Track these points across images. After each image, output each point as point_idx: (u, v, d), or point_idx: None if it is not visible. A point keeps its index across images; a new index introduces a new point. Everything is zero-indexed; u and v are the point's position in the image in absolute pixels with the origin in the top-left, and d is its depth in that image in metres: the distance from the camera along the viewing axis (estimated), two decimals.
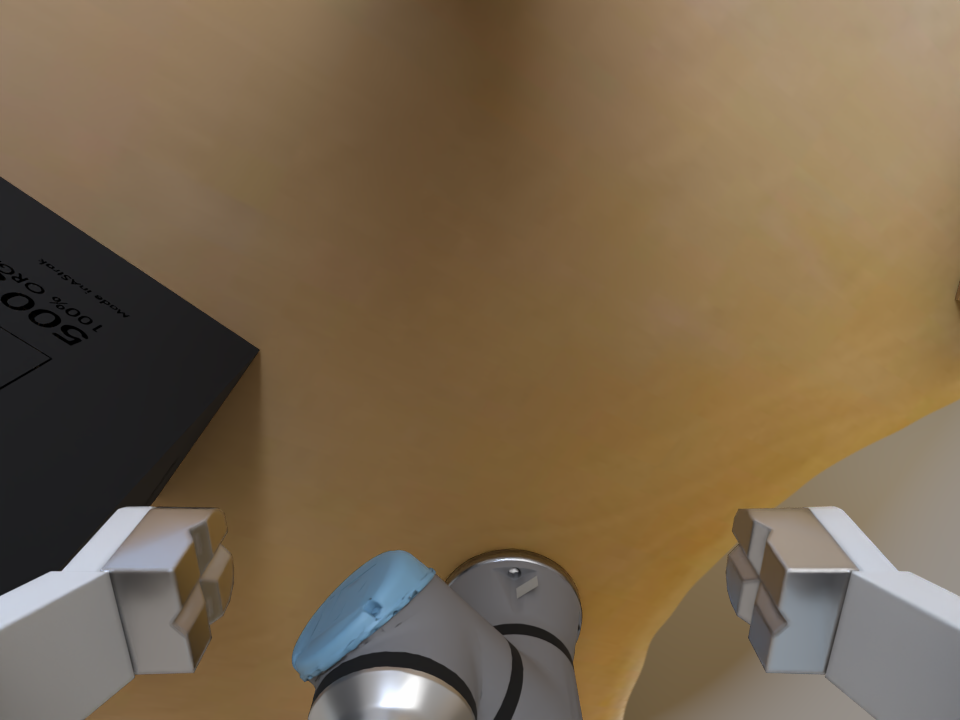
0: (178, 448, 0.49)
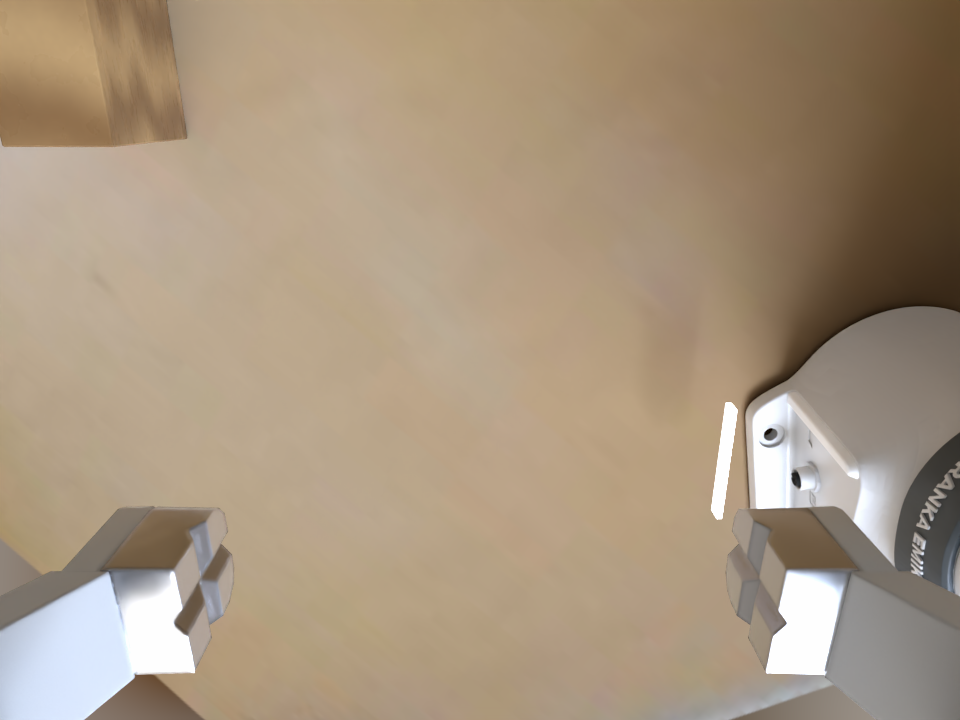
0: None
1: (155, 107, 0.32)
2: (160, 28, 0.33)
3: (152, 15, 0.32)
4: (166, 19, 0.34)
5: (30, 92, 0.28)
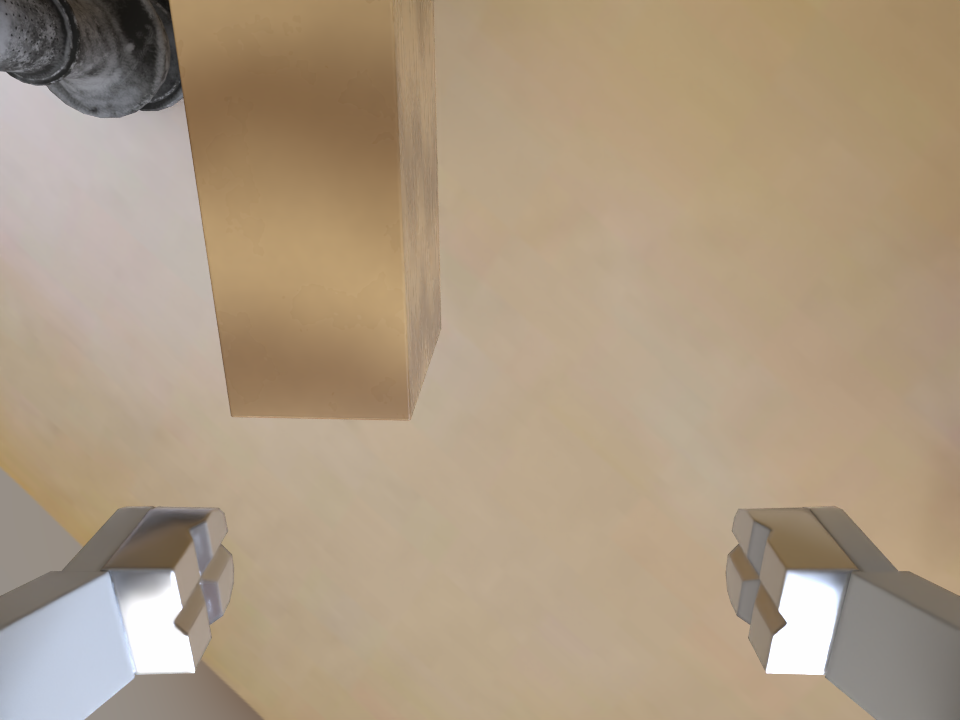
0: None
1: (429, 313, 0.21)
2: (433, 188, 0.22)
3: (431, 174, 0.21)
4: (436, 170, 0.22)
5: (286, 341, 0.17)
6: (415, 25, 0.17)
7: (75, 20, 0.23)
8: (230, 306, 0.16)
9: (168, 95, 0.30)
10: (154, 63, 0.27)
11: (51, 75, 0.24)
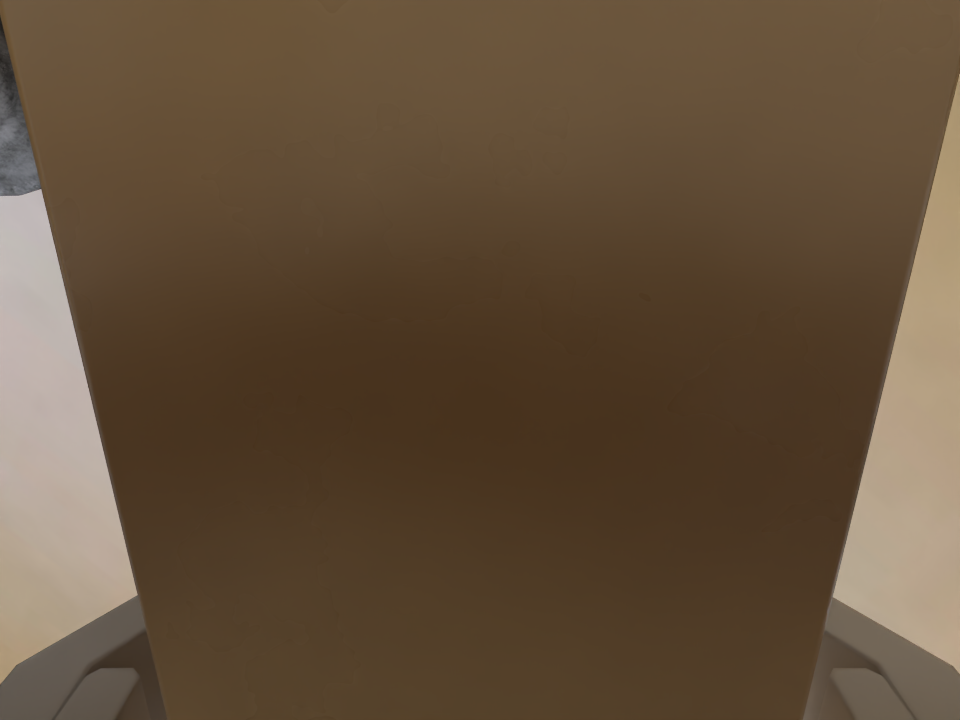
0: None
1: None
2: None
3: None
4: None
5: None
6: None
7: None
8: None
9: None
10: None
11: None
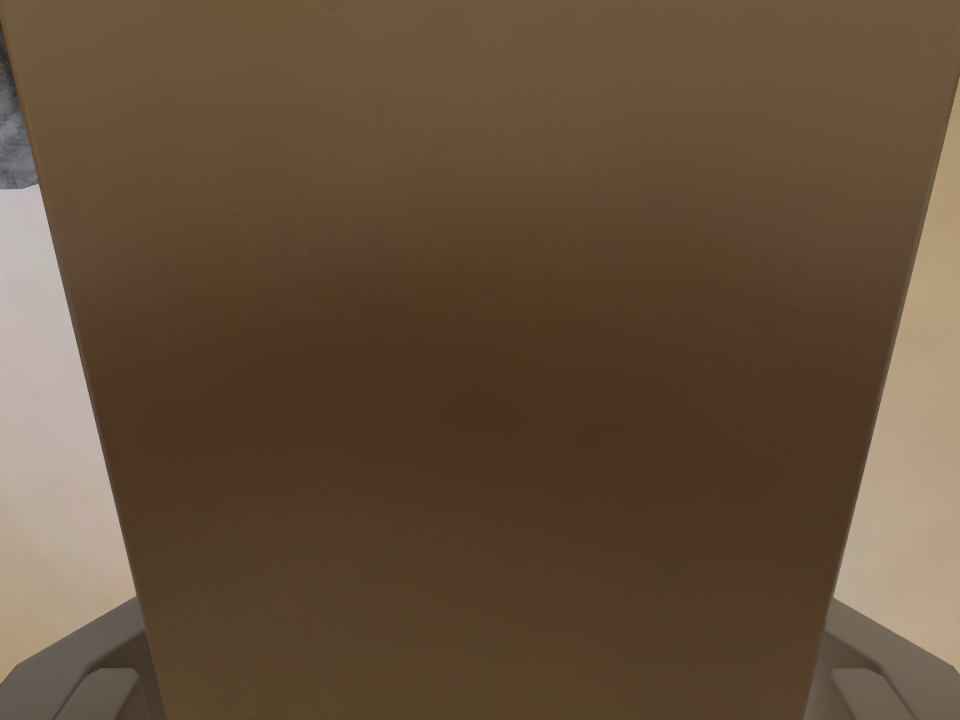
0: None
1: None
2: None
3: None
4: None
5: None
6: None
7: None
8: None
9: None
10: None
11: None
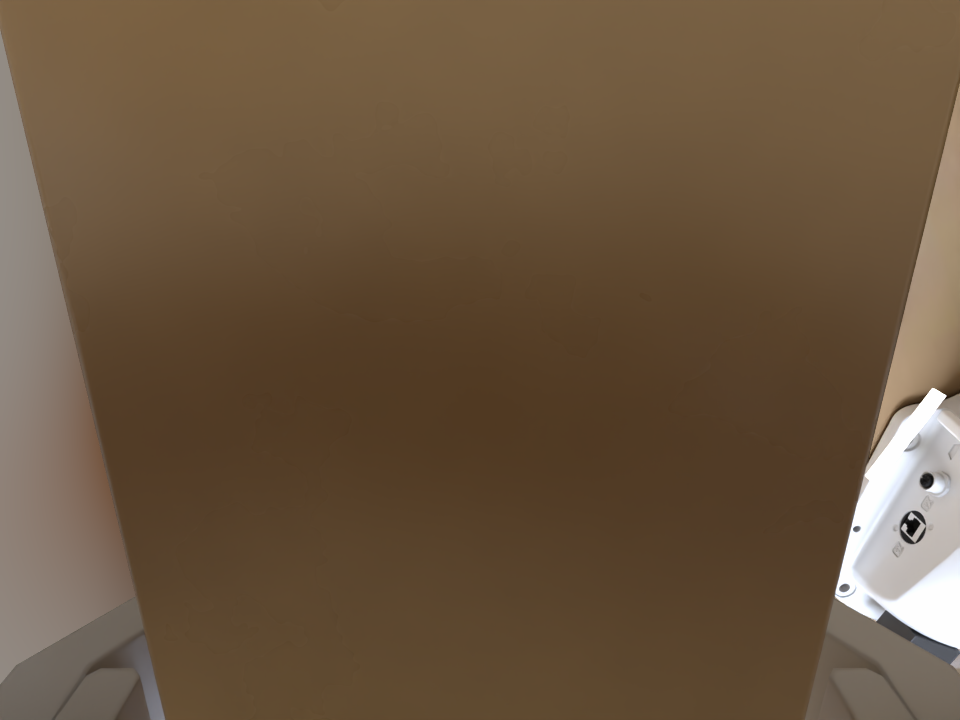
0: None
1: None
2: None
3: None
4: None
5: None
6: None
7: None
8: None
9: None
10: None
11: None
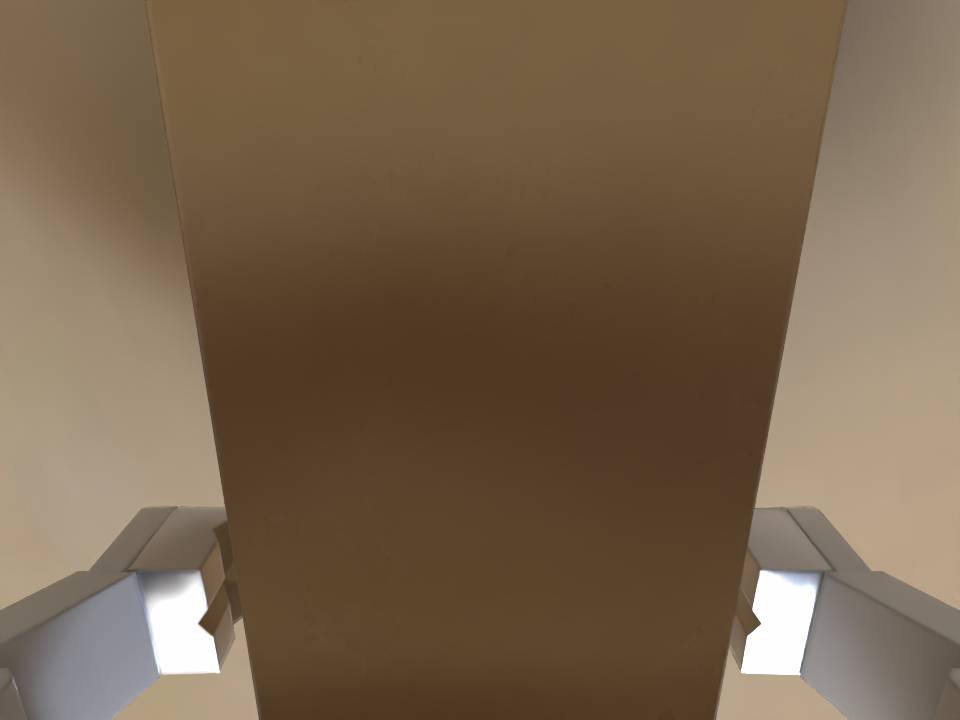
0: None
1: None
2: None
3: None
4: None
5: None
6: None
7: None
8: None
9: None
10: None
11: None
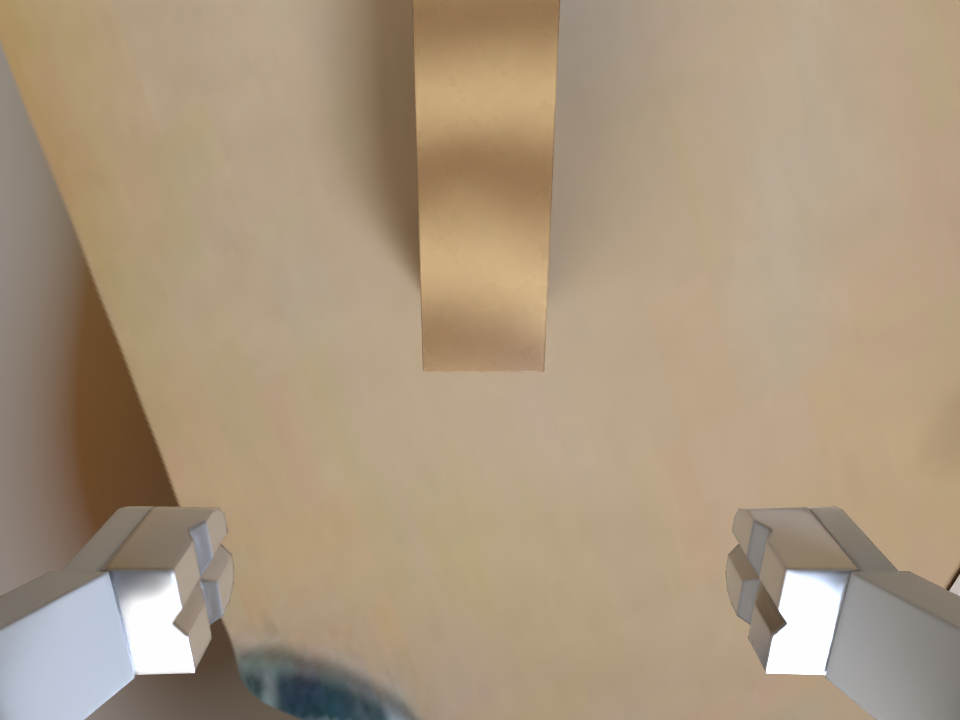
0: None
1: None
2: None
3: None
4: None
5: (467, 319, 0.25)
6: None
7: None
8: (431, 297, 0.25)
9: None
10: None
11: None
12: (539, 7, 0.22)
